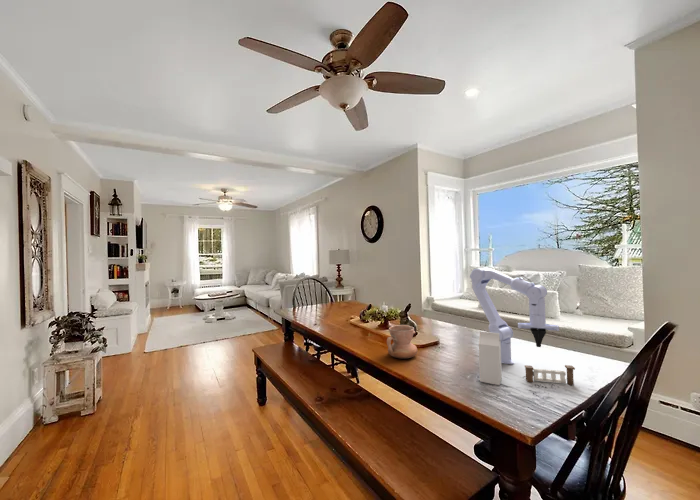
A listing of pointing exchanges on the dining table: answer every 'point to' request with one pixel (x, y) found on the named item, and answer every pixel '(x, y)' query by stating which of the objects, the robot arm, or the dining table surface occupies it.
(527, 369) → the post
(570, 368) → the hinge post
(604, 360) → the dining table surface
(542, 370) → the gate
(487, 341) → the milk carton
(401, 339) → the ceramic jug
